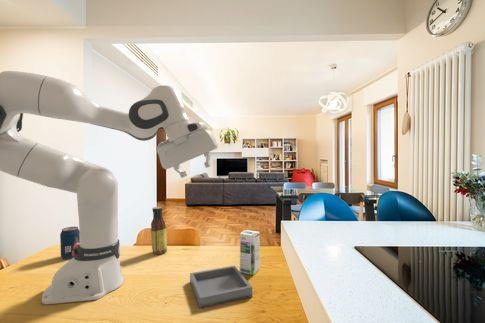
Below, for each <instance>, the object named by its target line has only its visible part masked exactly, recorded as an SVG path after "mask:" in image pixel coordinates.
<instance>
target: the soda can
mask: <svg viewBox="0 0 485 323" xmlns="http://www.w3.org/2000/svg"><path fill="white" fill-rule="evenodd" d="M59 240H60V256H61V258H62V259H63V260H71V259H72V258H73V256H72V250H73V247H74V245H75V244H76V243H80V235H79V226H69V227H65V228H62V229H61V232H60V234H59Z"/></svg>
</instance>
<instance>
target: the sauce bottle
mask: <svg viewBox="0 0 485 323" xmlns="http://www.w3.org/2000/svg"><path fill="white" fill-rule="evenodd" d="M152 215H153V216H152V218H153V219H152V221H151V222H150V223H151V224H150V228H151V230H150V232H151V235H150V236H151V251H152V254H154V255H162V254H165V253H166V252H167V250H168V243H167V242H168V240H167V239H168V238H167V225H166V222H165V221H164V218H163V207H162V206H155V207H152Z"/></svg>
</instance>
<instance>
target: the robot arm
mask: <svg viewBox="0 0 485 323" xmlns="http://www.w3.org/2000/svg"><path fill="white" fill-rule="evenodd" d="M24 114H28V115H29V114H31V115H35V116H40V117H45V118H51V119H55V120H56V119H57V120H63V121H72V122H77V123H85V124H90V125H94V126H98V127H102V128H106V129H110V130H111V129H112V130H116V131H120V132H122V133H126V134H127V135H129V136H131V138H134V139H135V140H138V141H143V142H145V141H149V140H152V139H154V138H155V137H156V136H157V134H158V133H159V131H160V130H159V129H161V128H163V130H164V131H165V135H166V138H167V139H166V140H163V141H162V142H158V145H157V146H156V152H157V155H158V158H159V162H160V165H161V167H162V168H163V169H164V170H169V169H171V168H173V169H174V171H175V172H177V173H178V174H179V176H180V178H181V179H182V178H185V177H187V176H188V174H187V172H186V171H185V170H184V171H183V170H182V169H181V164H183V163H186V162H188V161H190V160H193V159H195V158H198V157H201V156H203V155H204V157H206V158H205V162H204V163H203V164H204V167H205V168H206V169H207V168H209V167H212V164H211V153H210V152H211V151H214V150H217V149H218V146H219V145H218V142H217V139H216V137H215V136H214V133H213V132H212V131H211V130H209V129H208V124H207V123H205V122H191V121H190V119H189V117H188V116H187V113H186V109H185V105H184V103H183V101H182V99H181V97H180V94H179V93H178V92H177V90H176V89H175V88H174V87H173V86H170V85H159V86H156V87H153V88H152V89H151V91H150V93H148V94H147V95H146V96H145V97H144V98H142V99H141V100H138V101H136V102H134V103H132V105H131V106H130V107H129V110H128V112H123V111H119V110H115V109H112V108H108V107H104V106H101V105H100V104H98V103H96V102H94V101H93V100H92V99H91V98H89V97H88V96H87V95H86V94H85V93H84V92H83V91H82V90H81V89H80V88H79V87H78V86H77V85H76V84H75V85H74V84H72V83H70V82H68V81H66V80H63V79H60V78H55V77H51V76H48V75H45V74H38V73H34V72H33V73H32V72H26V71H25V72H24V71H18V70H17V71H13V70H4V71H1V72H0V171H1V172H3V173H5V174H7V175H11V176H13V177H16V178H19V179H22V180H25V181H28V182H32V183H35V184H38V185H40V186H44V187H47V188H52V189H56V190H57V189H58V190H60V191H65V192H69V193H70V192H71V193H74V194H76V200H77V201H76V202H77V211H78V212H77V213H78V229H79V235H80V243H76V244H75V245H74V247H73V250H72V256H73V258H72V259H68V260H67V262H66V263H64V264H63V265H61V267H60V268H58V269H57V271H56V272H55V273H54V274H53V278H52V279H51V283H50V284H49V286H47V287H46V289H45V290H44V291H43V293H42V295H41V303H42V304H43V305H54V304H65V303H75V302H86V301H95V300H96V301H97V300H99V299H100V298H103V297H104V296H105V295H106V294H108V293H111V292H113V291H114V290H116V289H118V288H120V287H121V285H123V283H124V282H125V277H124V274H123V272H122V268H121V263H120V256H121V243H120V239H119V229H118V228H119V225H118V224H119V223H118V218H119V217H118V213H119V212H118V211H119V210H118V208H119V207H118V206H119V202H118V201H119V200H118V198H119V187H118V185H119V184H118V180H117V178H116V176H115V174H114V173H113V171H111V170H110V169H108V168H106V167H104V166H101V165H99V164H96V163H93V162H90V161H87V160H84V159H82V158H79V157H76V156H73V155H71V154H68V153H65V152H63V151H60V150H57V149H55V148H52V147H49V146H48V145H45V144H42V143H39V142H37V141H34V140H31V139H28V138H26V137H24V136H23V135H21V134H20V131H22V129H23V118H24Z"/></svg>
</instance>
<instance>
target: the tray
mask: <svg viewBox="0 0 485 323" xmlns="http://www.w3.org/2000/svg"><path fill="white" fill-rule="evenodd" d="M189 282H190V285H191V289H192V291H193V293H194V296H195V299H196V301H197V303H198V306H199V309H204V308H209V307H212V306H217V305H222V304H226V303H231V302H236V301H239V300H244V299H248V298H249V299H250V298H252V297H253V286H252V285H251V283H249V281H248V280H247V278H245V277H244V275H243V273H241V272H240V269H238V268H237V267H236V265H229V266H226V267H225V266H222V267H218V268H213V269H206V270H201V271H196V272H195V271H194V272H190V273H189Z"/></svg>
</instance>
